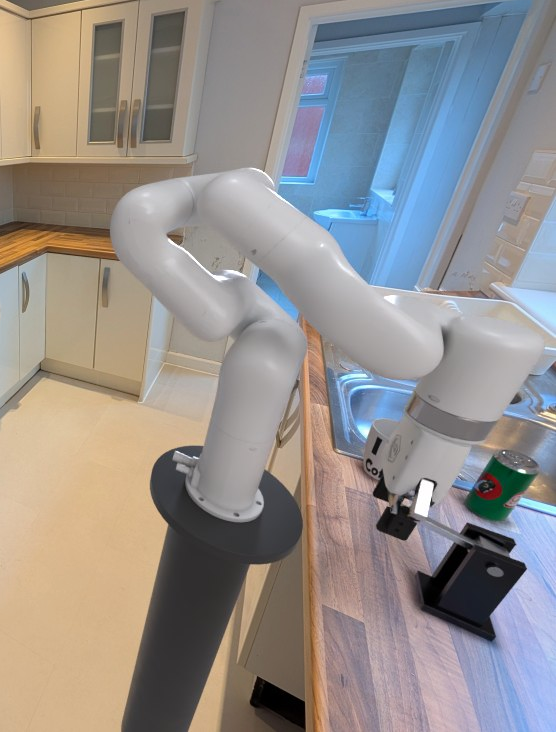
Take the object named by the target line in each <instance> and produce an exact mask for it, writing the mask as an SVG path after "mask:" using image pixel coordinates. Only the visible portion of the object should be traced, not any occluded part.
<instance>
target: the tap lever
mask: <svg viewBox="0 0 556 732" xmlns="http://www.w3.org/2000/svg"><path fill="white" fill-rule="evenodd" d="M387 494H388V501H389V503H388V507H391V505H392V502H393V500H394V497H395V494H393V493H390V492H389V491H388V490H387ZM401 506H407V505H406V504H403V502H402V503H401ZM417 525H419V526H422V527H423V528H424V527H425V528H426V529H427V530H429V531H432V532H434V533H436V534H438V535H439V536H442V537H443V538H446V539H447V540H449V541H451V542H453V543H454V542H455V543H457V544H459V545H461V546H463V547H465V548H467V549H468V553H469V551H470V550H471V548H472V547H473V546H474V544H475V545H478V546H480V547H483V548H486V549H488V550H491V551H494V552H496V553H499V554H502V555H504V556H507V557H510V558H511V555H510V553H508V550H507V549H505V548H503V547H501V546H499V545H497V544H495V543H493V542H491V541H489V540H487V539H485V538H483V537H481V536H478V537H477V538H476V539H474V540H472V539H470V538H468V537H466V536H465V535H463V534H461V533H460V532H459V531H457V530H455V529H454V528H453V529H452V528H450V527H449V526H447V525H445V524H444V523H441V522H439V521H438V520H435V519H433V518H431V517H429V516H427V519H426V520H425V521H420V522H419V523H417Z"/></svg>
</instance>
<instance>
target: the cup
mask: <svg viewBox="0 0 556 732" xmlns="http://www.w3.org/2000/svg"><path fill="white" fill-rule="evenodd" d="M399 422H400V420H396V419H392V418H386V417H381V418H380V417H379V418H376V419H373V420H372V422H371V425H370V428H369V431H368V433H367V437H366V440H365V444H364V450H363V454H362V455H363V458H362V459H363V461H362V462H363V470H364V472H365V473H366V474H367V475H368V476H369V477H371V478H373V479H375V480H376V481H379V480H380V478H381V476H382V474H383V467H382V458H381V454H382V450H383V448H384V446H385V444H386V442H387V441H388V439H389V438H390V436H391V434H392V433H393V431H394V429H395V428H396V426H397V425H398V423H399Z"/></svg>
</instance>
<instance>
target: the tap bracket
mask: <svg viewBox="0 0 556 732" xmlns="http://www.w3.org/2000/svg"><path fill="white" fill-rule="evenodd" d="M459 533H461V534H463V535H465V536H466V537H468V538H470V539H472V540H474V539H476V538H477V537H478V536H481V537H483V538H485V539H487V540H489V541H491V542H493V543H495V544H497V545H499V546H501V547H503V548H505V549H507V550H508V553H509V554H511V552H512V551H513V549H514V548H515V547H516V545H517V542H516V540H515V539H514V538H512V537H510V536H507V535H505V534H501V533H498V532H496V531H493V530H491V529H487V528H483V527H481V526H479V525H476V524H473V523H470V522H466V523H465V524H464V525H463V528H462V529H461V530H460V532H459ZM527 570H528V568H527V566H526V563H525V562H523V561H521V560H517V559H515V558H512V557H511V556H510V557H507V556H504V555H502V554H499V553H496V552H494V551H491V550H488V549H486V548H483V547H480V546H478V545H475V544H474V546H473V547H472V548H471V550H470V551H469V553H468V549H467V548H465V547H463V546H461V545H459V544H457V543H455V542H453V543H452V544H451V546H450V547H449V549H448V550H447V552H446V553H445V555H444V557H443V558H442V559H441V561H440V562H439V564H438V565H437V567H436V569H435V570H434V572H433V573H432V574H431V575H430V574H428V573H426V572H422V571H420V570H417V571H416V573H415V574H414V580H415V585H416V590H417V591H416V592H417V597H418V602H419V607H420V610H421V611H423V612H425V613H427V614H429V615H431V616H433V617H436V618H438V619H440V620H442V621H444V622H447V623H449V624H451V625H453V626H455V627H457V628H460V629H462V630H465V631H466V632H469V633H471V634H474V635H475V636H478V637H480V638H482V639H484V640H486V641H488V642H491V643H492V642H493V641H494V640H495V639H496V638H497V635H496V631H495V629H494V625H493V621H492V619H491V616H492V614H493V613H494V612H495V610H496V609H497V608H498V606H499V605H500V604H501V603H502V601H503V600H504V599H505V598H506V597H507V596H508V594H509V593H510V591H511V590H512V589H513V588H514V586H515V585H516V584H517V583H518V581H520V579H521V578H522V577H523V575H524V574H525V573H526V571H527Z"/></svg>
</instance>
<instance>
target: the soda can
mask: <svg viewBox="0 0 556 732" xmlns="http://www.w3.org/2000/svg"><path fill="white" fill-rule="evenodd" d="M539 466H540V465H539V463H538V462H537V461H536V460H535V459H533V458H532V457H530V456H529V455H527V454H524V453H522V452H519V451H516V450H513V449H507V448H503V449H500V450H499V451H497V452H494V453H493V454H492V456H491V458H490V459H489V461H488V462H487V463H486V465H485V466H484V468H483V470H482V472H481V473H480V474H479V476H478V477H477V479H476V481H475V483H474V484H473V486H472V487H471V489H470V491H469V492H468V494H466V497H465V498H464V503H465V505H466V507H467V508H468V509H469V510H470V511H471V512H472V513H473V514H474V515H477V516H478V517H481V518H482V519H485V520H488V521H492V522H505V521H506V520H507V519H508V517H509V516H510V514H512V512H513V510H514V509H515V508H516V506H517V505H518V503H519V502H520V501H521V499H522V498H523V497H524V495H525V493H526V492H527V491H528V490H529V488H530V486H532V483H534V481H535V479H536V478H537V477H538V475H539V473H540V471H539Z"/></svg>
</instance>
